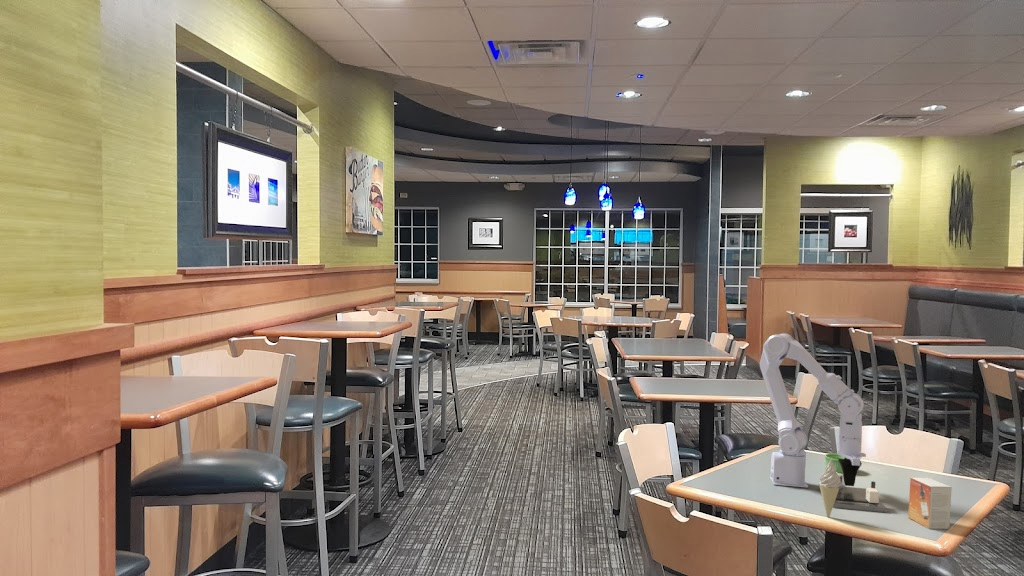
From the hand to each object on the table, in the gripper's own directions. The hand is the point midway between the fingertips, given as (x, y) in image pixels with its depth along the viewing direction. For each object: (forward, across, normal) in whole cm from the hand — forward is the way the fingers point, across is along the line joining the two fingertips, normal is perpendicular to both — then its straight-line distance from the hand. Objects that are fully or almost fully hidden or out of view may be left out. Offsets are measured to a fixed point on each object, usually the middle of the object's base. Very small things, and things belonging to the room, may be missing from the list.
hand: (849, 485), depth 202 cm
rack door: (+1, -1, +3) cm, 3 cm away
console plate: (+2, -6, +1) cm, 7 cm away
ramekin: (+3, +28, -4) cm, 28 cm away
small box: (+3, -21, -14) cm, 25 cm away
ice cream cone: (+3, -24, +10) cm, 26 cm away
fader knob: (+1, -11, -3) cm, 12 cm away
